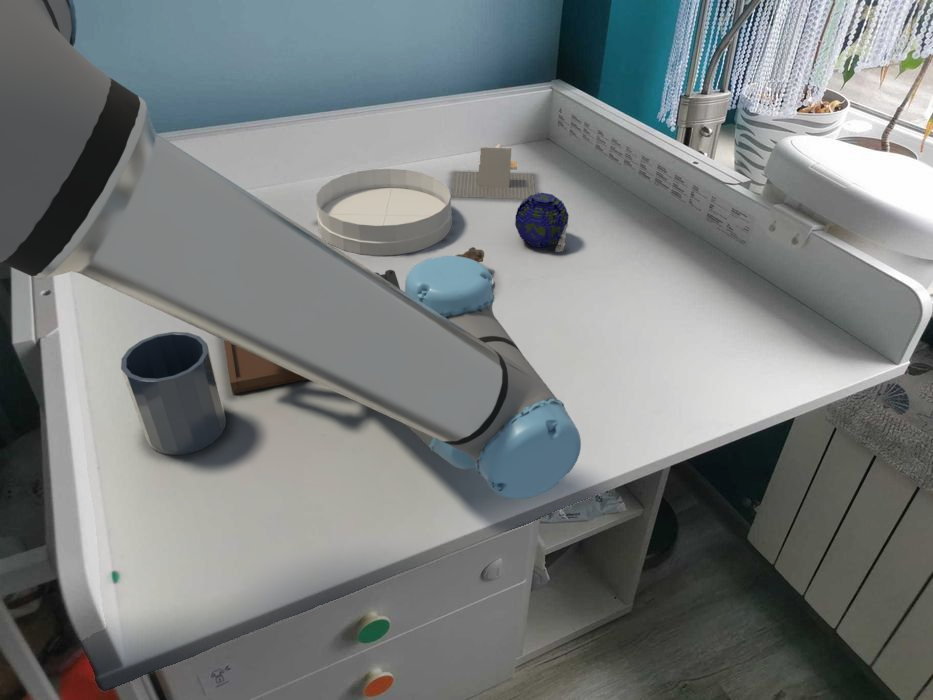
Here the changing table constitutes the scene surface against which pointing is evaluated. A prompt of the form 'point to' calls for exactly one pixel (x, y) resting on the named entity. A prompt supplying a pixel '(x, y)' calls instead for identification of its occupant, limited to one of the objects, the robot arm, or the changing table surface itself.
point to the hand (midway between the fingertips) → (290, 279)
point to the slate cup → (174, 392)
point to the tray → (254, 371)
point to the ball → (542, 221)
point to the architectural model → (494, 177)
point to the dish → (384, 211)
